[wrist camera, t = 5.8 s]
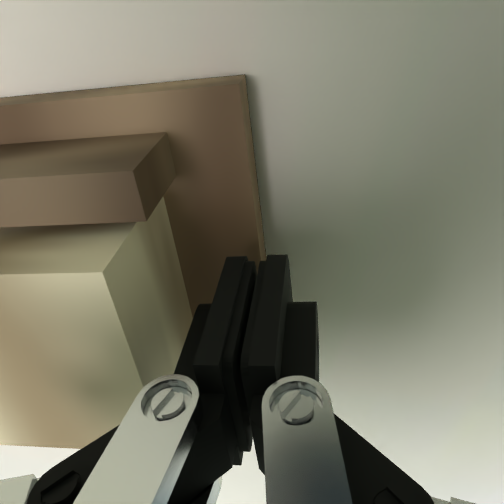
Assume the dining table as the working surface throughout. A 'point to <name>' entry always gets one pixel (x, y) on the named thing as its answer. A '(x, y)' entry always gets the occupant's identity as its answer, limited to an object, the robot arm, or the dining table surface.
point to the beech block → (85, 325)
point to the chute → (139, 167)
